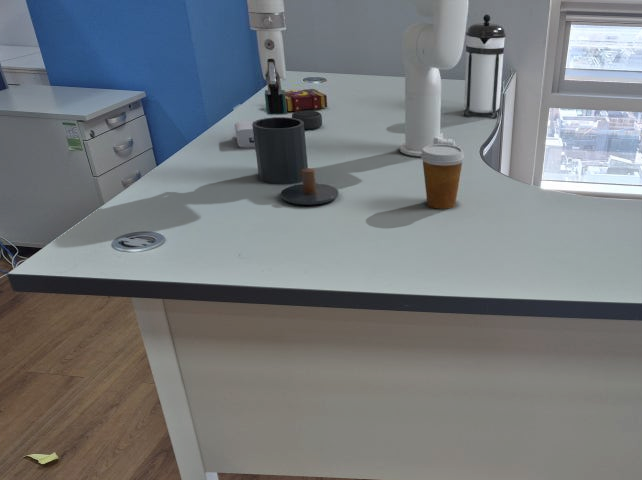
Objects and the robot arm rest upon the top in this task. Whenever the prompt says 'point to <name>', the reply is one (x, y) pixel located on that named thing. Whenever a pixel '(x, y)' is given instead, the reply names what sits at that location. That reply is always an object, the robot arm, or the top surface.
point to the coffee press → (484, 67)
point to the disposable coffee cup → (442, 174)
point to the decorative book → (305, 100)
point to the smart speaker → (309, 119)
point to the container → (280, 149)
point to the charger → (245, 134)
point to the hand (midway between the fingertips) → (276, 109)
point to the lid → (309, 190)
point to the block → (283, 102)
